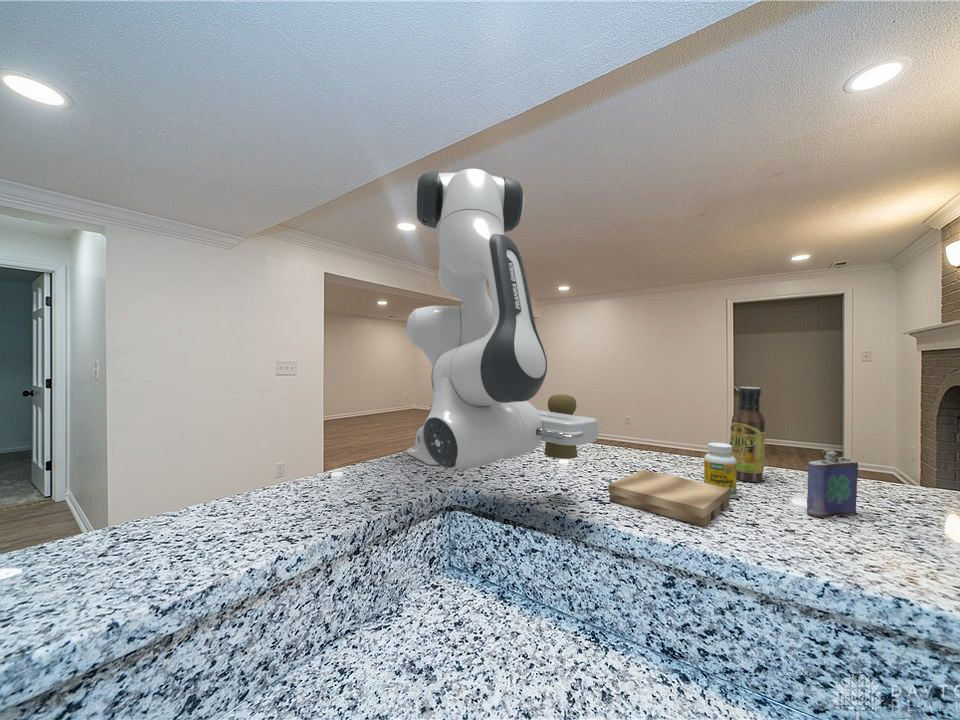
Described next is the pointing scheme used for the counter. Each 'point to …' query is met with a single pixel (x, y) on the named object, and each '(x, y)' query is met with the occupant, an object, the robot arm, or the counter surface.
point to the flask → (832, 486)
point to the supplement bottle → (720, 467)
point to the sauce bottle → (748, 436)
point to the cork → (563, 406)
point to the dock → (671, 496)
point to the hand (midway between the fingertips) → (564, 418)
